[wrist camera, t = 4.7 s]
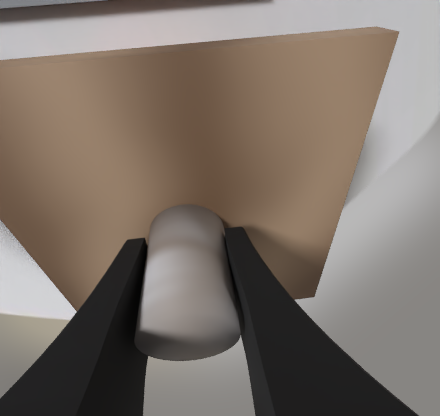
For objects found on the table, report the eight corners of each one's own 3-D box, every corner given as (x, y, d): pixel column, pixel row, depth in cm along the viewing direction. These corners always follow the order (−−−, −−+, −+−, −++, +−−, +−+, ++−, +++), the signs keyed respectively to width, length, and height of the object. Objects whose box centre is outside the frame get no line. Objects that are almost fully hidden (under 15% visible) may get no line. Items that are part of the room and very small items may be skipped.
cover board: (93, 308, 15) (61, 423, 11) (-83, 67, 7) (-431, 177, 3) (307, 281, 15) (349, 382, 11) (376, 26, 7) (593, 75, 3)
